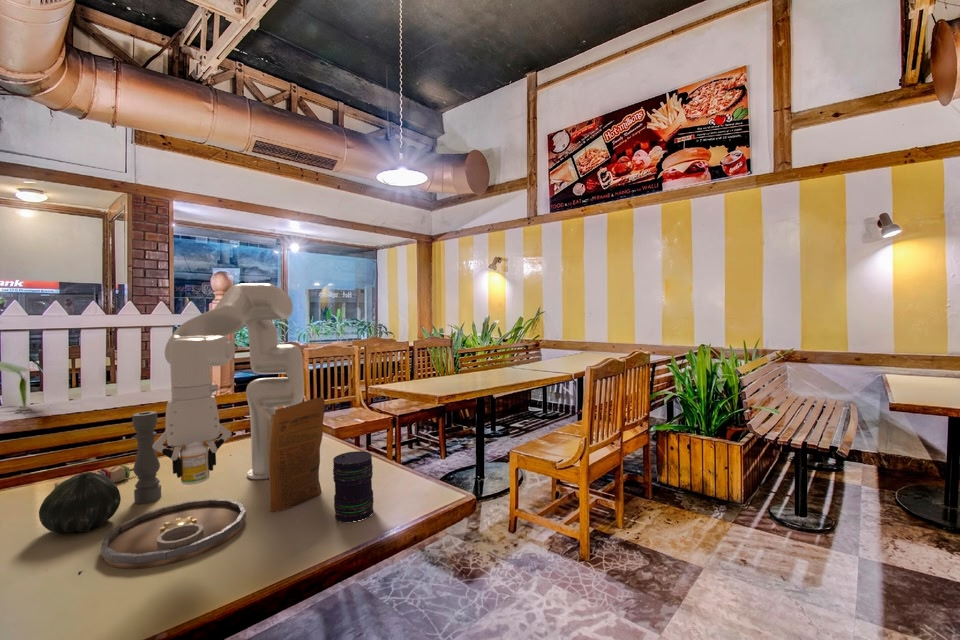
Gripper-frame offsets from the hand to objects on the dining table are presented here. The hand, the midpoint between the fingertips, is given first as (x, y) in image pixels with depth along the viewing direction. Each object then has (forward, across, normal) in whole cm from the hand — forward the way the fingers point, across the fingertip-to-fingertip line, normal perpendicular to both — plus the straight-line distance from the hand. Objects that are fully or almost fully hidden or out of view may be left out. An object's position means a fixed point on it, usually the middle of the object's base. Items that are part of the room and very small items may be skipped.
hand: (195, 471), depth 100 cm
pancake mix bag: (+18, -25, -10) cm, 32 cm away
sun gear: (+16, +3, -10) cm, 19 cm away
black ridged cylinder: (+18, -34, +8) cm, 39 cm away
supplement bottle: (+2, 0, 0) cm, 2 cm away
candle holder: (+18, +8, -41) cm, 45 cm away
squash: (+18, +21, -31) cm, 42 cm away
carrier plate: (+17, +3, -10) cm, 20 cm away
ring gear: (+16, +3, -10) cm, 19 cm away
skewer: (+18, +20, -65) cm, 70 cm away
